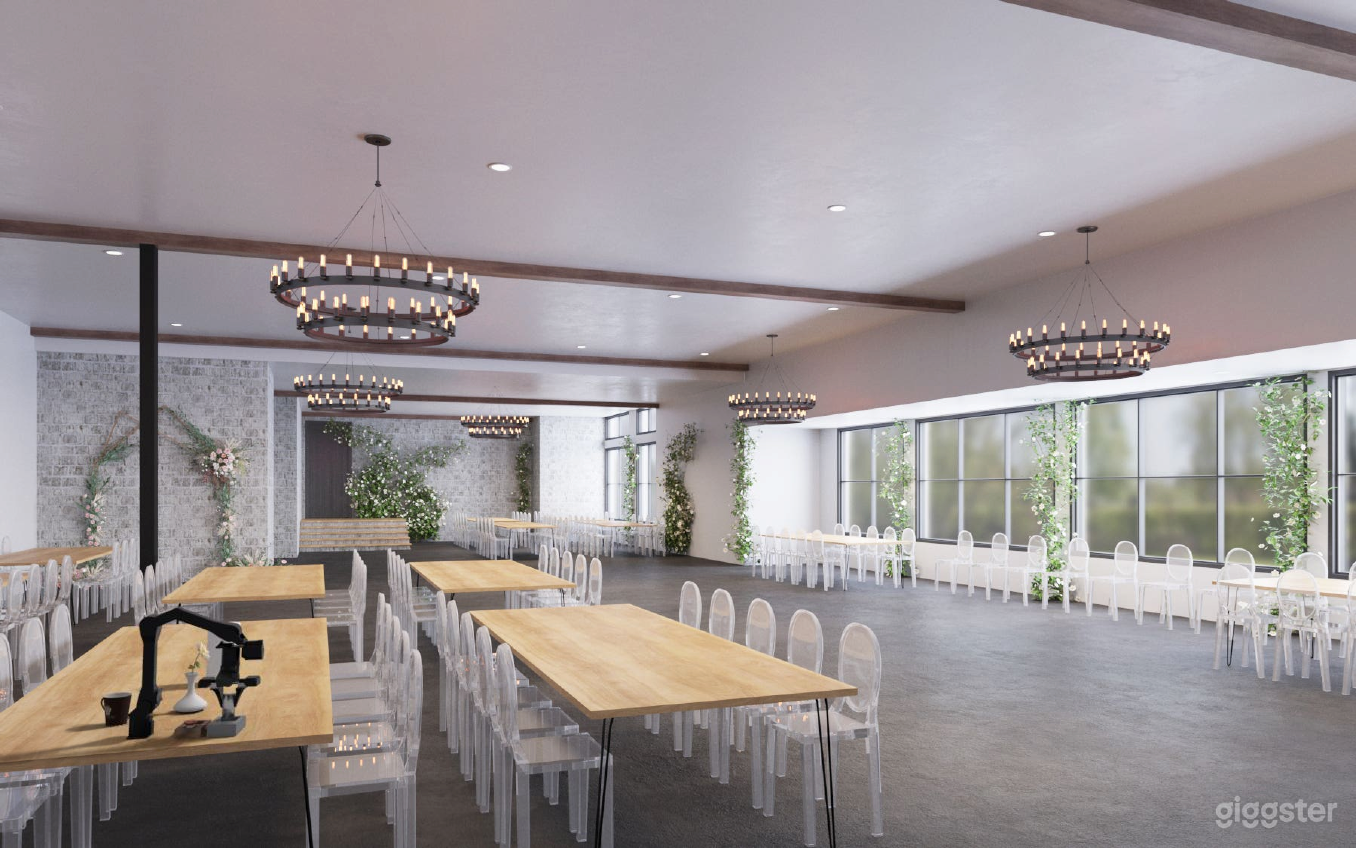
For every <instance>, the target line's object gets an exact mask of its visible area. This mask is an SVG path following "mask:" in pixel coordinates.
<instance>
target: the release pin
mask: <svg viewBox="0 0 1356 848" xmlns="http://www.w3.org/2000/svg"><path fill="white" fill-rule="evenodd" d="M197 720H198V719H186V720H183V723H184V724H186V726H185V728H195V723H197Z"/></svg>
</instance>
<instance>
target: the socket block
mask: <svg viewBox="0 0 1356 848" xmlns="http://www.w3.org/2000/svg"><path fill="white" fill-rule="evenodd" d="M196 720H197V723H195V728H185V726H186V724H184V722H183V723H181V724H180V725H178V726H177V727H175V728H174V730H173V731H174V732H173V739H178V740H179V739H198V738H199V737H200V738H201V737H203V736H204V735H205V734H207V725H208V724H209V723H210V722H212V721H213V719H196ZM200 738H199V739H200Z"/></svg>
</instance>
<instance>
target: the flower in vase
mask: <svg viewBox="0 0 1356 848" xmlns="http://www.w3.org/2000/svg"><path fill="white" fill-rule="evenodd" d="M196 649H197V651H198V654H197V656H196V658H195V661H194V663H193V664H189V666H188V668H187V669H188V670H192V671H188V672H185V673H184V676H185V677H186V681H187V692H186V693H185V695H184V696H183V697H181V698H180V699H179V700H178V701H177V702H176V703H175V704H174V705H173V707H172V709H173V711H175V712H179V713H193V712H198V711H201V710H204V709H205V708H207V707H208V703H207V701H206V700H205V699H204V698H202V697H201V696H199V695H198V694H197V693H196V690H195V686H196V680H197V678H198V676H199V675H200V672H199V671H195V670H194V669H195V668H197V669H200V668H201V667H202V664H201V662H200V661H197V660H198V657H199V656H200V657H201V658H202V659H203V660H205V661H207V660H209V659H208V658H210V656H209V654H208V653H209V651H207V645H205V644H203V642H202V641H197V644H196Z"/></svg>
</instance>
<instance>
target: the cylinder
mask: <svg viewBox="0 0 1356 848" xmlns="http://www.w3.org/2000/svg"><path fill="white" fill-rule="evenodd" d="M232 622H233V623H237V624H239V625H240V626H241V627H242V625H241V624H242V623H241V622H239V621H232ZM221 641H222V639H221V638H219V637H217V636H216V635H215V634H213V633H212V632H210V631H207V643H206V649H207V651H209V653H208V654H209V656H210V658H208V659H209V660H206V667H205V669H206V670H205V677H215V679H216V677H217V675H218V673H219V671H220V666H221V657H222V648H220V649H216V648H215V647H216V646H217V645H218V644H219V643H220V642H221ZM223 641H224V640H223ZM224 642H225V643H233V642H226V641H224ZM234 645H236V644H235V643H234ZM234 685H235V684H232V686H234ZM209 687H210V688H211V685H210V686H209Z"/></svg>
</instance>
